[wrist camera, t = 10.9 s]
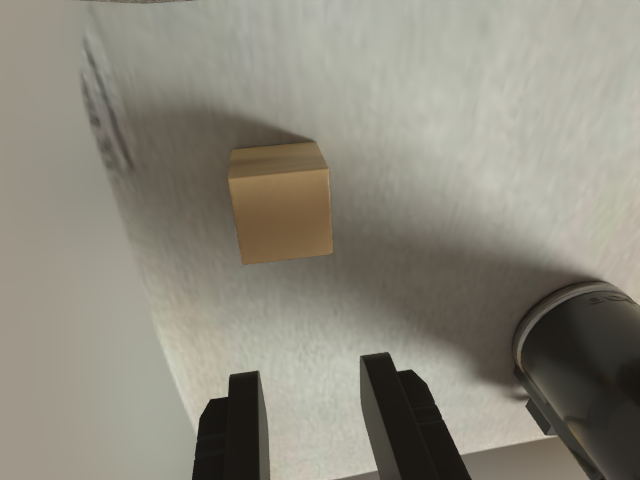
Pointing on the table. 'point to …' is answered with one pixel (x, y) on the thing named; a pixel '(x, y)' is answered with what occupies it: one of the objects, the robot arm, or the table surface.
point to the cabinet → (138, 1)
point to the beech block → (281, 202)
